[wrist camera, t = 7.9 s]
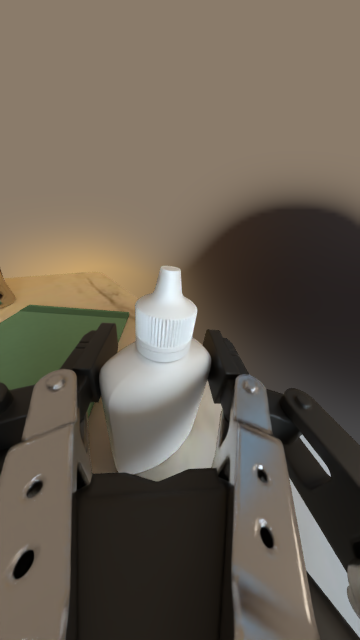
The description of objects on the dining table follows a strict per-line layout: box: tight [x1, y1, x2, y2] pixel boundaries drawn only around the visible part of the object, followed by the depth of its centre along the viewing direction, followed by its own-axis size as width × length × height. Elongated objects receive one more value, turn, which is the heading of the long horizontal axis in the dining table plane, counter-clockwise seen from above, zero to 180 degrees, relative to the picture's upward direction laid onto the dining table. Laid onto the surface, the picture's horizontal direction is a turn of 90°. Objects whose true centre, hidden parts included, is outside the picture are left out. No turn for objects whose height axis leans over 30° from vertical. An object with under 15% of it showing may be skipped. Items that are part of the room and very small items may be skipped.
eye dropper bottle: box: [99, 266, 211, 474], centre depth 9 cm, size 4×6×12 cm
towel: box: [0, 305, 129, 475], centre depth 16 cm, size 14×20×1 cm
